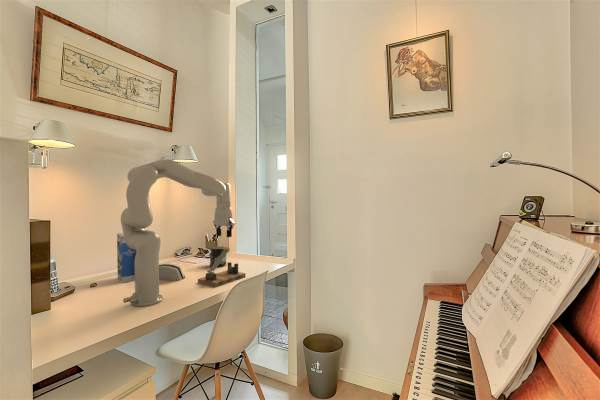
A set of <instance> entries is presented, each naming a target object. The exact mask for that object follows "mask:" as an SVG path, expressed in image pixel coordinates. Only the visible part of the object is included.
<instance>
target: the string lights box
mask: <svg viewBox="0 0 600 400" xmlns="http://www.w3.org/2000/svg"><path fill="white" fill-rule="evenodd" d="M116 245H117V246H116V249H117V251H116V252H117V253H116V257H117V258H116V260H117V261H116V262H117V279H118V280H119V281H120V283H121V284H125V283H130V282H135V256H136V252H137V250H133V249H131V248H129V247H128V246H127V244H126V242H125V238H124V234H123V232H118V233H116Z"/></svg>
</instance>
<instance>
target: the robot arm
mask: <svg viewBox="0 0 600 400" xmlns="http://www.w3.org/2000/svg"><path fill="white" fill-rule="evenodd" d="M162 178H168V179H170V180H172V181H174V182H176V183H178V184H181V185H182V186H186V187H188V188H194V189H200V191H201V193H202V195H204V196H205V197H216V207H215V210H214V219H213V221H212V223H213V226H214V227H215V230H216V237H221V236H222V227H223V226H224V227H226V238H232V236H233V234H232V230H233V229H234V227H235V225H236V222H235V221H234V220H233V212H232V207H231V184H230V183H228V182H222V181H220V180H218V179H217V178H214V177H212V176H210V175H207V174H205V173H201V172H198V171H195V170H192V169H191V168H189V167H187V166H184V165H183V164H181V163H179V162H177V161H175V160H173V159H169V158H168V159H167V158H166V159H165V158H164V159H161V160H156V161H153V162H152V161H151V162H149V163H146V164H143V165H139V166H136V167H133V168H131V169H130V170H129V171H128V173H127V180H128V182H129V183H128V185H127V188H126V193H125V195H126V197H125V198H126V203H127V207H125V208H124V209H123V210H122V213H121V215H120V224H121V228H122V233H123V234H124V238H125V242H126V244H127V246H128V247H129V248H131V249H133V250H137V252H136V256H135V281H134V292H132V294H131V296H128V297H124V298H123V299H122V302H123V303H124V304H126V303H130V304H131V305H132V306H134V307H146V306H147V307H149V306H152V305H156V304H159V303H160V302H162V301H163V299H164V295H162V294H160V279H159V265H160V264H159V263H160V261H159V260H160V259H159V258H160V249H161V238H160V236H159V234H158V233H156V232H155V231H153V230H148V229H146V228H149V227H150V226H152V223H153V220H154V217H153V212H152V207H151V202H150V190H151V188H152V187H153V185H154V184H155V183H156V182H157V180H159V179H162Z"/></svg>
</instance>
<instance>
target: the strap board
mask: <svg viewBox="0 0 600 400" xmlns="http://www.w3.org/2000/svg"><path fill="white" fill-rule="evenodd" d="M242 278H246V272H241V271H239V263H237V262H236V263H234V264H233V266H232V262H231V261H228V262H227V270H223V271H221V272H214V273H209V272H206V273H205V276H204V277H199V278H197V283H198V284H202V285H206V286H208V287H209V286H211V287H214V288H217V287H221V286H222V285H225V284H228V283H231V282H234V281H237V280H241V279H242Z"/></svg>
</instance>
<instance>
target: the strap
mask: <svg viewBox="0 0 600 400" xmlns="http://www.w3.org/2000/svg"><path fill="white" fill-rule="evenodd" d="M224 247H225V248H224V251H223V252H222V253H221V255H220V256H219V257H218V259H217V260H216V261H215V263H214V264H213V265H212V266H210V268H209V269H208V270H206V273H215V271H216V269H217V268H218V267H217V266H218V265H219V263H220V262H221V261H222V259H223V258H224V257H225V255H226V256H227V254H228V253H229V252H230V248H229V247H227V246H224Z"/></svg>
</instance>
